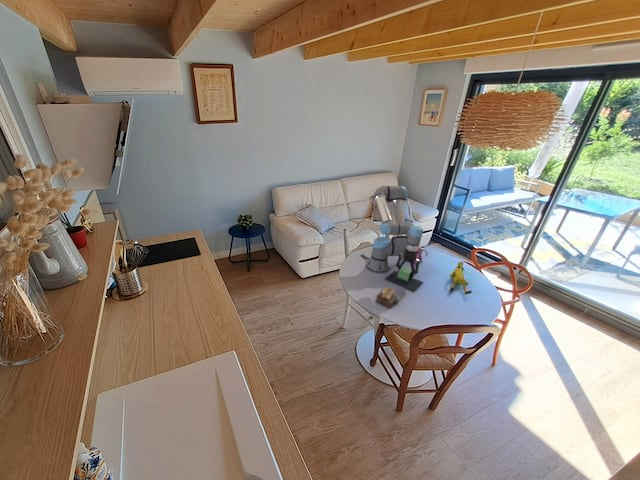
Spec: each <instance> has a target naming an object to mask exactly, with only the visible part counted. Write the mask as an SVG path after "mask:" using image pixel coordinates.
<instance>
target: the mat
mask: <svg viewBox="0 0 640 480" xmlns="http://www.w3.org/2000/svg"><path fill="white" fill-rule="evenodd" d="M398 273H399V272H397V271H395V270H394V271H393V272H392V273H391V274H389V275H388V276H387V277H385V278H384V279H385V280H386V281H387V282H390V283H393V284H395V285H397V286H400V287H402V288H404V289H407V290H409V291H411V292H415V291H416V290H417V289H418V288H419V287H420V286H421V285H422V284H423V282H422V281H421V280H418V279H416V278H414V277H413V278H412V279H411V281H410V282H409V280H408V281H406V280H404V279H401V278H399V277H398Z"/></svg>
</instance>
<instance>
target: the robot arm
mask: <svg viewBox="0 0 640 480" xmlns="http://www.w3.org/2000/svg"><path fill="white" fill-rule="evenodd" d="M408 196H409V195H408V189H407V188H406V186H404V185H382V186H379V187H377V188H376V190H375V191H374V193H373V196H372V202H373V203H374V205H375V206H376V210H377V211H378V216H379V219H380V221H381V224H380V226H379V232H380V234H381V235H383V236H378V237H376V238H375V239H374V240H373V243H372V249H371V255H370V257H367V256H366V255H364V254H361V256H362V257H363V258H364V259H367V260H368V261H367V263H366V267H367V269H368V270H370V271H371V272H373V273H374V272H375V273H385V272H387V271H389V261H388V259H389V257H398V258H397V260H396V261H397V262H396V264H395V267H396V268H397V271H396V272H398V273H399V269H401V268H402V267H403V266H404V265H405V263H409V265H410V268H411V271H412V273H411V274H410V277H409V282H410V281H411V279H412V278H413V279H414V277H415V275H417V274H418V273H419V267H420V263H421V262H422V261H421V260H418V259H417V258H416V256H417V252H418V248H420V244H421V240H422V238H423V232H424V228H423V227H422V226H420V225H415V224H414V223H413V222H411V221H410V222H408V221H409V220H406V221H405V213H404V211H405V209H404V205H405V204H406V201H407V200H408ZM387 236H392V237H387ZM402 257H404V259H403V258H402ZM401 261H402V262H401ZM414 261H416V264H414ZM420 261H421V262H420Z"/></svg>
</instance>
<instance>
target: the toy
mask: <svg viewBox="0 0 640 480" xmlns="http://www.w3.org/2000/svg"><path fill="white" fill-rule="evenodd" d="M407 221H408V222H411V221H412V220H411V219H409V220H407ZM423 252H425V253H424V254H425V258H427V257H428V255H429V253H428V251H427V249H425V248H424V249H423V248H421V247H419V248H418V252H417V256H416V258H417V259H418V260H421V261H420V263H421V262H422V261H423V256H422V254H423ZM402 260H404V257H402ZM414 265H416V261H414Z"/></svg>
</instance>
